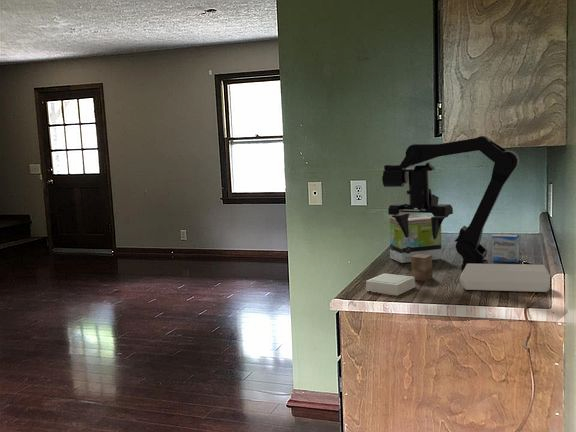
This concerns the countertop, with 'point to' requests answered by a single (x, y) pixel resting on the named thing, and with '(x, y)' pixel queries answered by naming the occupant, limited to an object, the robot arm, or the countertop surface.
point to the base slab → (390, 284)
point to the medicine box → (505, 248)
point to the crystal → (505, 277)
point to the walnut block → (421, 267)
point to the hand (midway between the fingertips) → (420, 238)
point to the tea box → (414, 239)
